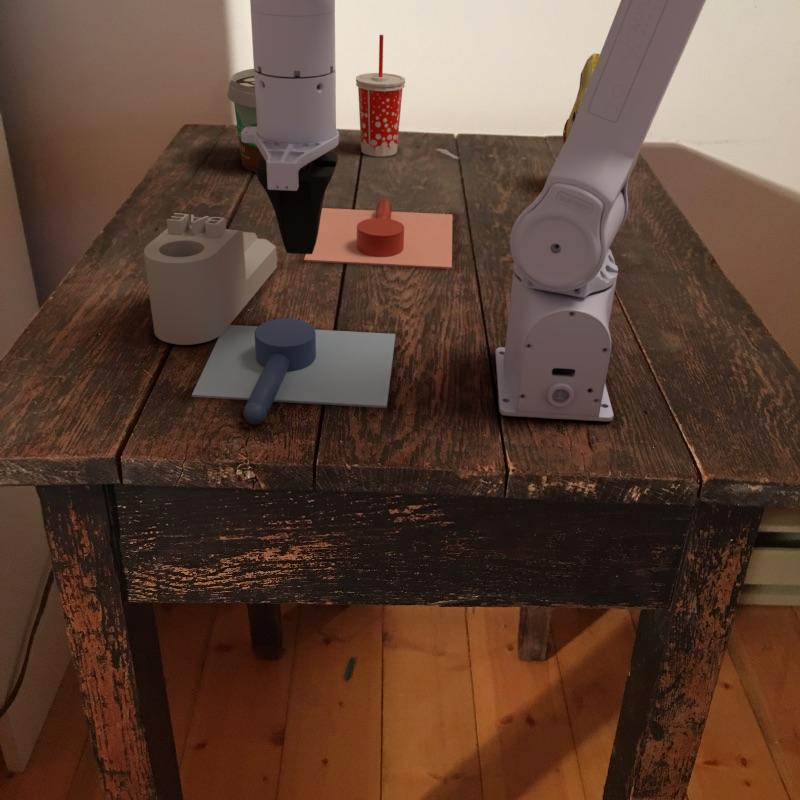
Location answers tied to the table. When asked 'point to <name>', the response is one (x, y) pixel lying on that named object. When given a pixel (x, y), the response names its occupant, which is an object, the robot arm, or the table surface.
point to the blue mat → (305, 369)
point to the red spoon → (380, 233)
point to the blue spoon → (278, 360)
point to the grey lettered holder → (203, 277)
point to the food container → (245, 114)
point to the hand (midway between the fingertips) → (300, 250)
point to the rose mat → (421, 249)
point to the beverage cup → (379, 109)
